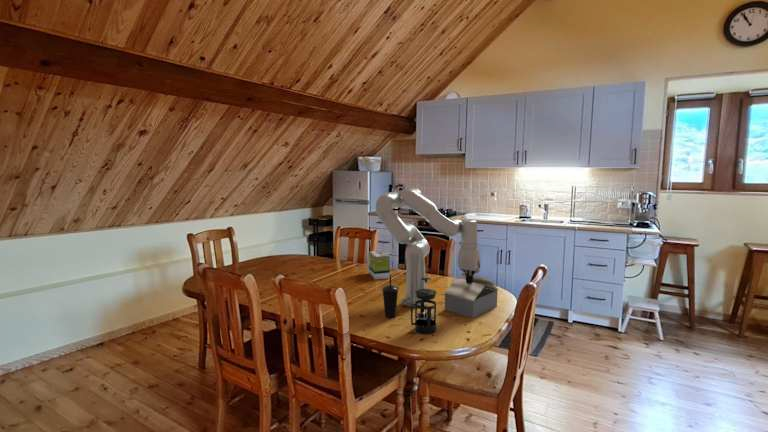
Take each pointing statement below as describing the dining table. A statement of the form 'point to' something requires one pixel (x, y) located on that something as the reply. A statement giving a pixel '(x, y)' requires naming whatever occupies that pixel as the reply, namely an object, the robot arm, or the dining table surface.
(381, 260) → the tea box
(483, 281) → the far flap
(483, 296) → the storage box
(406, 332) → the dining table surface
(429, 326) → the french press
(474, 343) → the dining table surface
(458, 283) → the near flap
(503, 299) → the dining table surface
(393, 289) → the drinking cup
